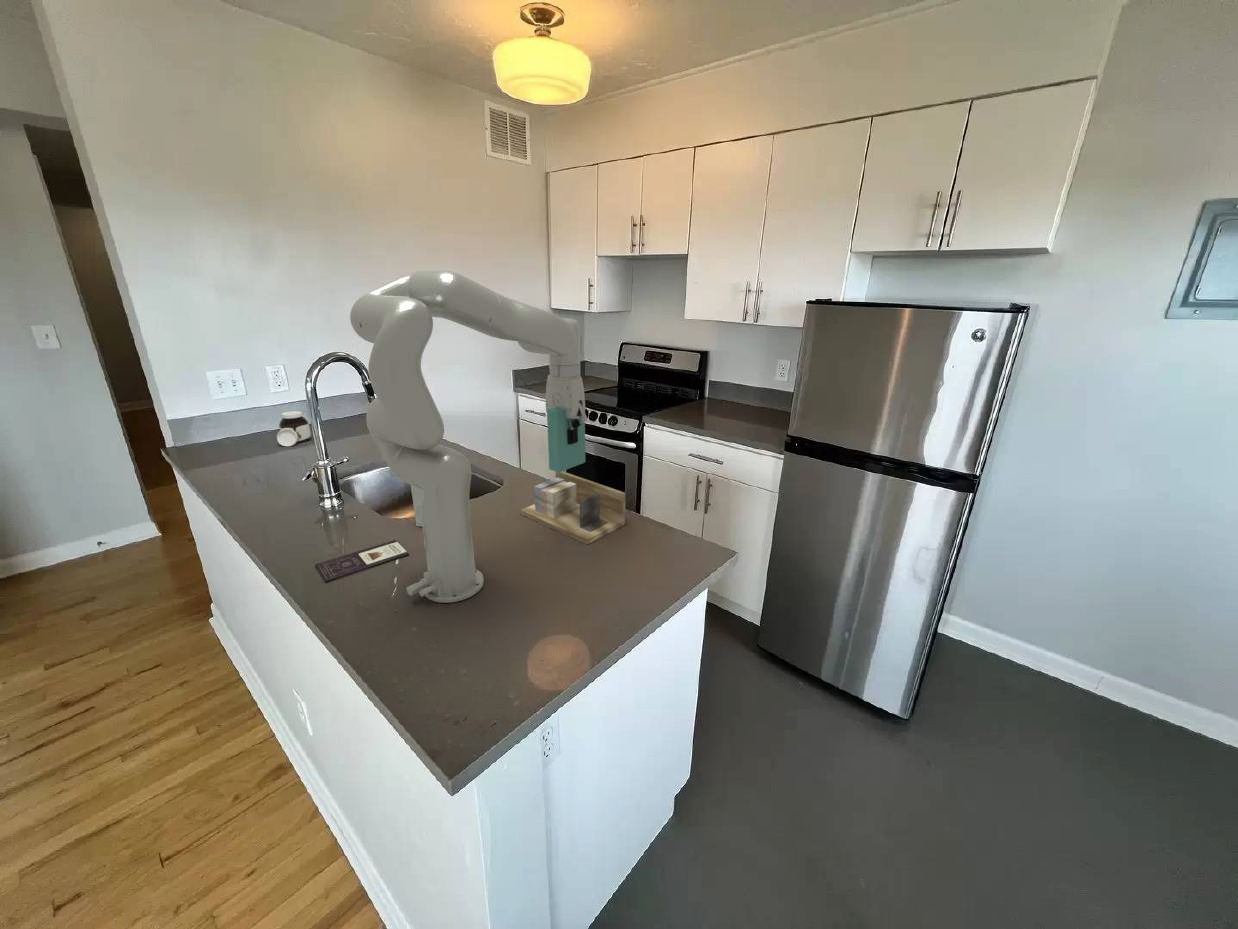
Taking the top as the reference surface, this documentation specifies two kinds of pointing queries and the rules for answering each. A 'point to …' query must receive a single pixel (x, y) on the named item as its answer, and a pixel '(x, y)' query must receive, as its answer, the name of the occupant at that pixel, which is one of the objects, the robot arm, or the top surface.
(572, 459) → the book
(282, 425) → the spread jar
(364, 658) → the top surface
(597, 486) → the shelf
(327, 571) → the chocolate bar
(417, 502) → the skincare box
